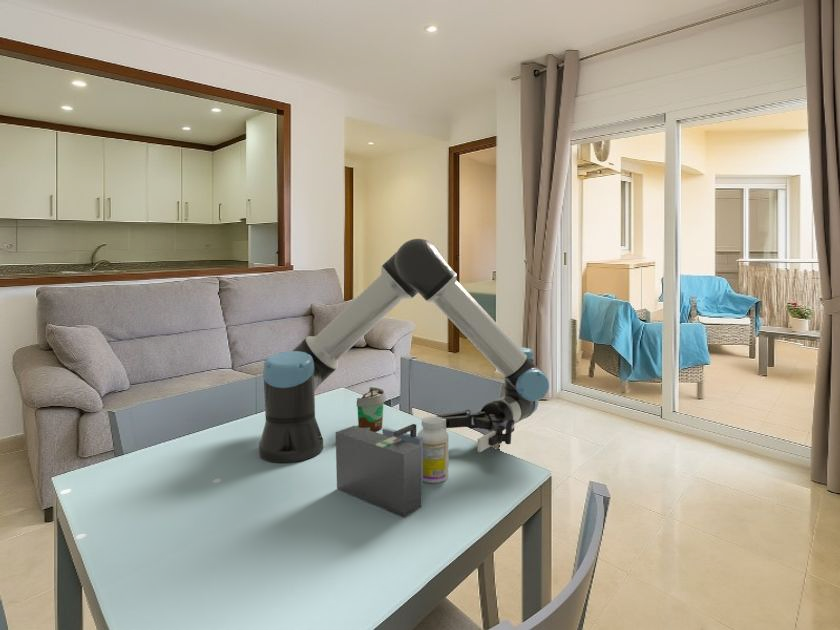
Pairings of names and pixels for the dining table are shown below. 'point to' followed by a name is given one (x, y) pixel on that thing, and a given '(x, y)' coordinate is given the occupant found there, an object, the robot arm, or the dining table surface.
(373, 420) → the food container
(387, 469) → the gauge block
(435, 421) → the supplement bottle
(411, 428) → the pale blue square panel
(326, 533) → the dining table surface
